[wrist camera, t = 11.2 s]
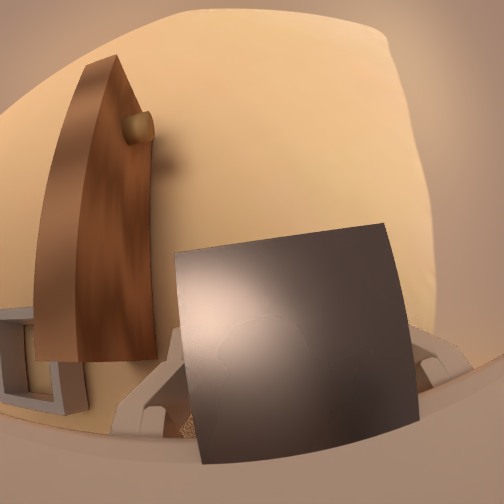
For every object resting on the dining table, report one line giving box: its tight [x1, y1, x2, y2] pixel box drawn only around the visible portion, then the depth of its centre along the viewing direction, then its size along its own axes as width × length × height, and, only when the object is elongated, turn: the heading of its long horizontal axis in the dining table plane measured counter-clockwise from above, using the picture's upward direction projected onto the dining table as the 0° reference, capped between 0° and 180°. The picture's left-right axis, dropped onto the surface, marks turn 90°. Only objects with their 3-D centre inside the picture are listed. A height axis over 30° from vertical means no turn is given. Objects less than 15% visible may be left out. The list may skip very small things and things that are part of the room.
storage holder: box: [0, 307, 89, 416], centre depth 16 cm, size 7×7×3 cm
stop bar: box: [174, 223, 420, 465], centre depth 10 cm, size 4×4×11 cm
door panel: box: [33, 54, 158, 362], centre depth 16 cm, size 18×4×9 cm, turn 8°
